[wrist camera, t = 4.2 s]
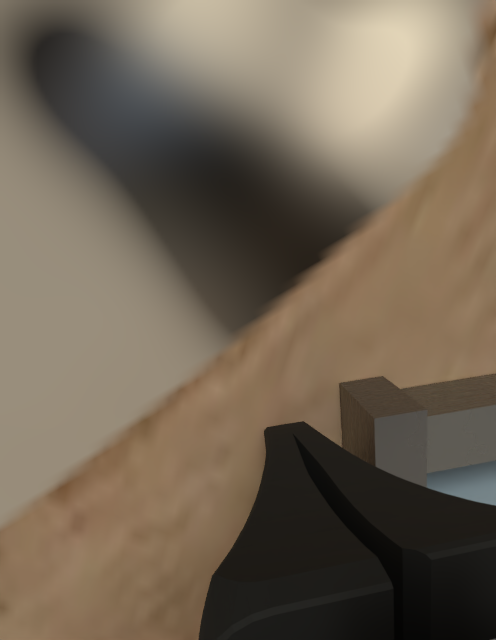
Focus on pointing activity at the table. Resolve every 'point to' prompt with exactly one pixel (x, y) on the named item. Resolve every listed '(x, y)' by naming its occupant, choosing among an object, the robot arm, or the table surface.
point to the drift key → (420, 425)
